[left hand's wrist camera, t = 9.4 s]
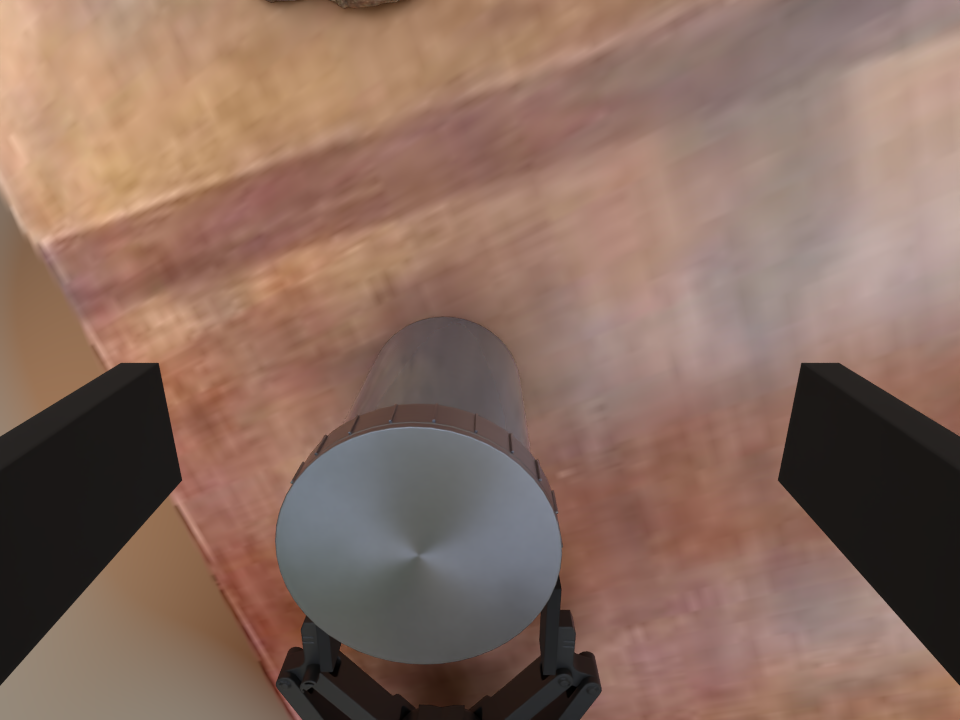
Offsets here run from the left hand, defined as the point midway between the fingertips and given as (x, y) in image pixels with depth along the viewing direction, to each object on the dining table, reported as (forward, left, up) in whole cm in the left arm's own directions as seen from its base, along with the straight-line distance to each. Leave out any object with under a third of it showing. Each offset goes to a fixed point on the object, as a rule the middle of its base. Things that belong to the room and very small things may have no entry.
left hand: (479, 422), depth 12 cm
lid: (-7, +6, -8) cm, 12 cm away
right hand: (-15, +11, -18) cm, 26 cm away
